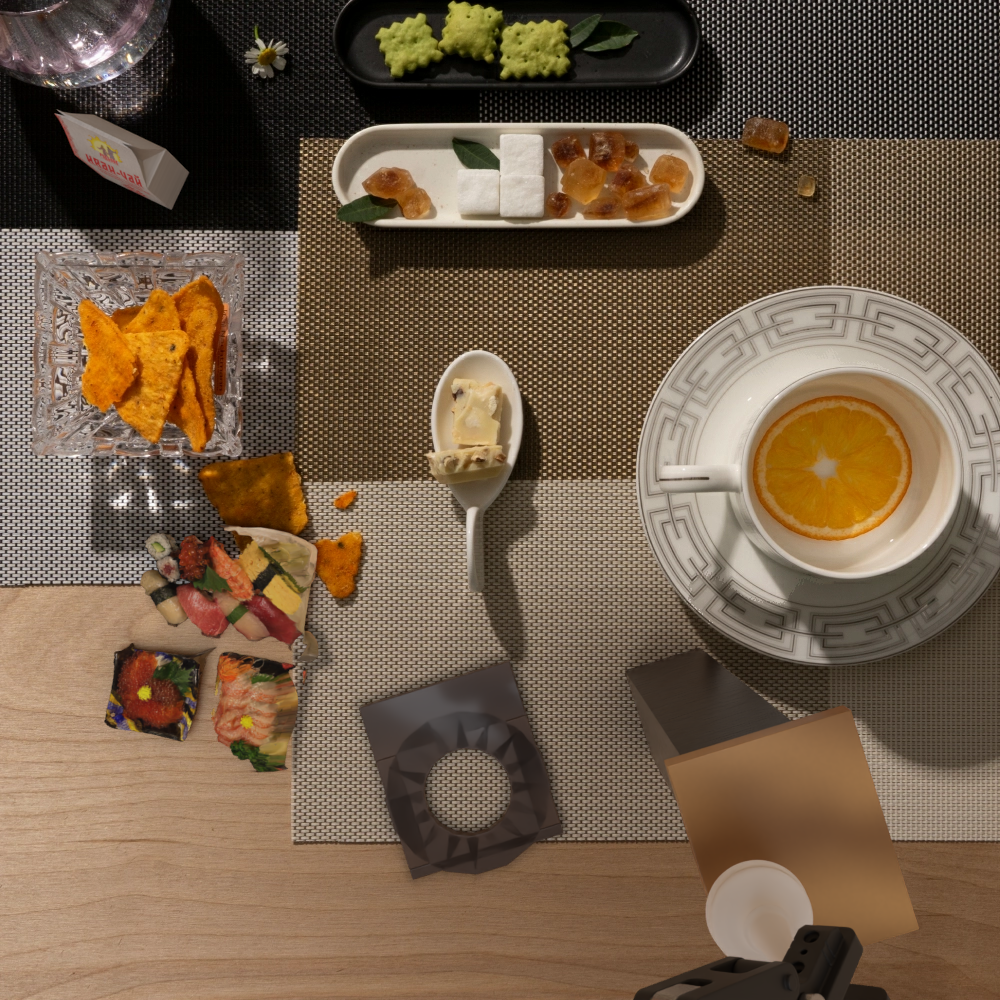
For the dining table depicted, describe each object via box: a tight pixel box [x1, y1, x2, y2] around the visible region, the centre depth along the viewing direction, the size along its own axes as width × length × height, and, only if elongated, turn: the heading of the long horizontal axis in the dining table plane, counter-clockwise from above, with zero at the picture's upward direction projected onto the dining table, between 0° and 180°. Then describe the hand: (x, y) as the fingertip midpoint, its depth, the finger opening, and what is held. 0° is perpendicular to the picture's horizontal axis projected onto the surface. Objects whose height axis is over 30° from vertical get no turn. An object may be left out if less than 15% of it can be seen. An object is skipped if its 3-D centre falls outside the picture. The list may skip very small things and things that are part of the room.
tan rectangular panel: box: [664, 704, 920, 958], centre depth 41 cm, size 12×10×1 cm
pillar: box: [624, 647, 792, 803], centre depth 56 cm, size 8×7×29 cm
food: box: [103, 524, 319, 773], centre depth 69 cm, size 22×19×4 cm
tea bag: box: [54, 109, 190, 210], centre depth 66 cm, size 4×7×10 cm, turn 64°
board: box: [358, 659, 564, 881], centre depth 70 cm, size 17×14×2 cm
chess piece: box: [705, 860, 813, 962], centre depth 32 cm, size 5×5×10 cm
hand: (850, 964), depth 31 cm, fingers closed on chess piece
